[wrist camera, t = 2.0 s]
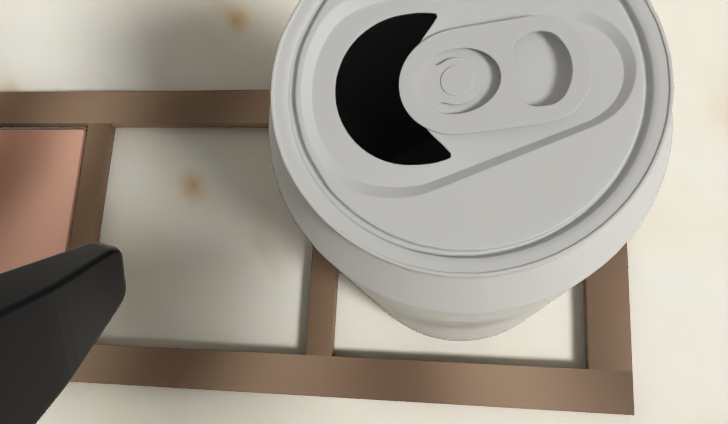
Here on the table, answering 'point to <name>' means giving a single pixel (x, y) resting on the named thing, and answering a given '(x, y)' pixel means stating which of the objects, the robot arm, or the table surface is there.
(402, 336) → the table surface
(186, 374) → the brown divided frame
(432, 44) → the beverage can
